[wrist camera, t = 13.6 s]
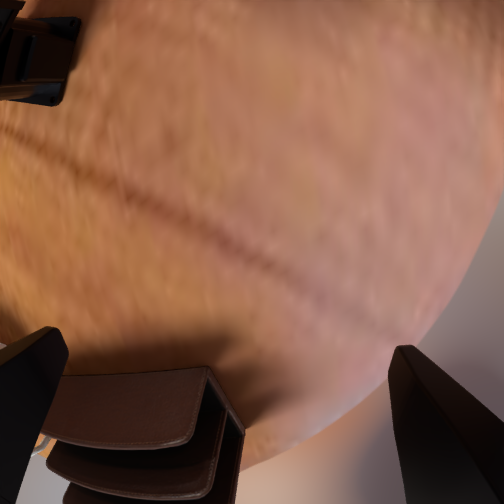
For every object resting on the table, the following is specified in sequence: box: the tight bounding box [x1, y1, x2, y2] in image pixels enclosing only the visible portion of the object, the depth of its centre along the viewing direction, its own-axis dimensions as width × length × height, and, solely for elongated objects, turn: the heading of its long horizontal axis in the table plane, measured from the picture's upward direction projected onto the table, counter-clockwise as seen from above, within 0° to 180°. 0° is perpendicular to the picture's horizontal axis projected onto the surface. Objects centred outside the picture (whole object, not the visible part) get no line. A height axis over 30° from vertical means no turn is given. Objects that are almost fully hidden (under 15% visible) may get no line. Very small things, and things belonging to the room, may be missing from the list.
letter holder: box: [40, 366, 245, 504], centre depth 23 cm, size 10×20×14 cm, turn 108°
